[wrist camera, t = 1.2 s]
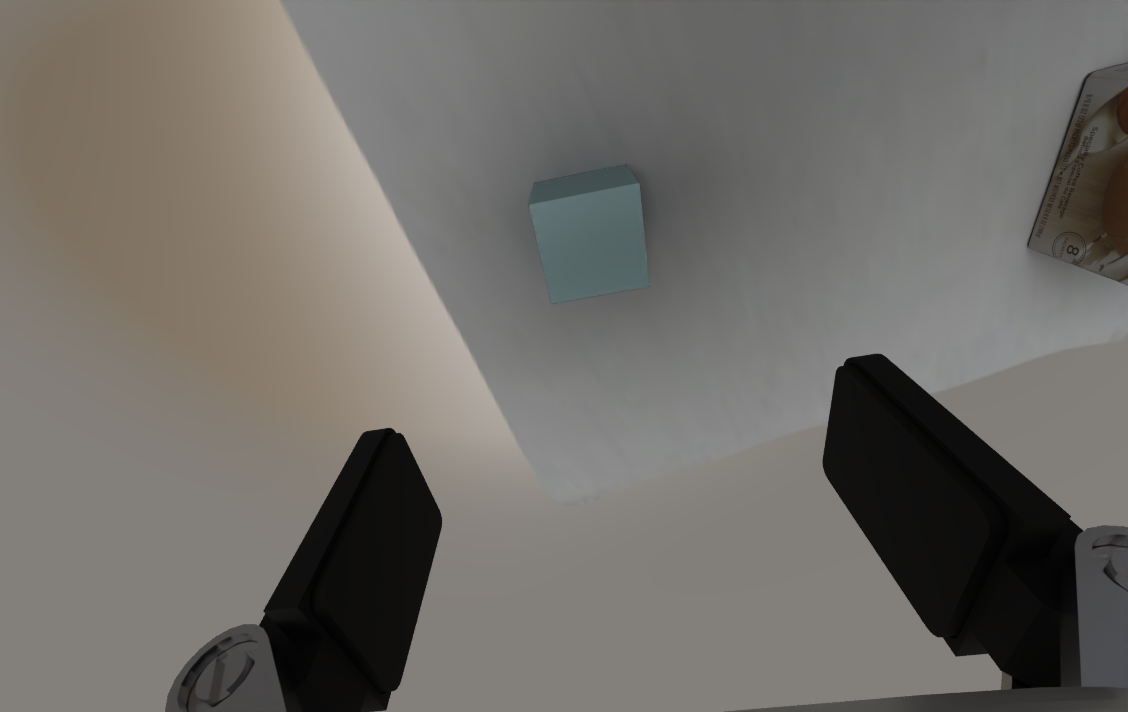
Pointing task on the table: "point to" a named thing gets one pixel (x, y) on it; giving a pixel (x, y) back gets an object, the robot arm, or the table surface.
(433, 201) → the table surface
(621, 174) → the teal cube
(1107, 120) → the coffee box
